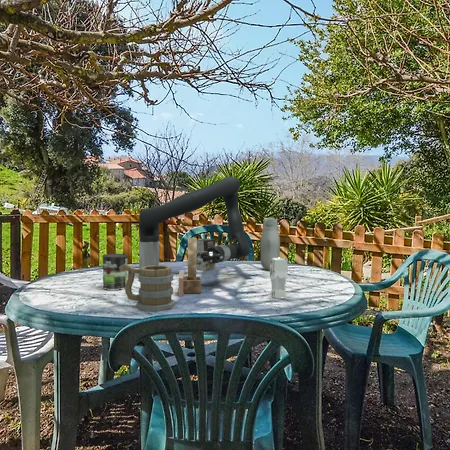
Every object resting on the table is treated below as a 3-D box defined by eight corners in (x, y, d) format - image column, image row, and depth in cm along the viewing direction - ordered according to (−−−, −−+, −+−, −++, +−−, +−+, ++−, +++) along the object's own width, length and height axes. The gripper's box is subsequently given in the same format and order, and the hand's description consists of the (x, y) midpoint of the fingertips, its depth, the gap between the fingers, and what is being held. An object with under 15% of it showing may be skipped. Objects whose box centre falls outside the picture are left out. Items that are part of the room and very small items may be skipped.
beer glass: (275, 299, 160) (276, 260, 159) (265, 295, 167) (266, 258, 165) (290, 297, 164) (291, 259, 162) (280, 293, 170) (281, 257, 169)
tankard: (178, 303, 155) (178, 262, 154) (166, 312, 143) (166, 268, 142) (128, 299, 159) (128, 260, 158) (112, 308, 147) (111, 266, 146)
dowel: (187, 292, 172) (187, 238, 170) (187, 289, 176) (187, 237, 174) (196, 292, 173) (196, 238, 171) (196, 289, 176) (196, 237, 174)
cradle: (183, 293, 169) (183, 280, 169) (183, 288, 178) (183, 276, 178) (200, 292, 170) (200, 280, 170) (200, 288, 179) (200, 276, 179)
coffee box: (205, 270, 221) (205, 240, 220) (195, 269, 225) (195, 239, 224) (215, 268, 228) (215, 239, 227) (206, 267, 232) (206, 238, 231)
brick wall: (178, 295, 166) (178, 278, 165) (179, 287, 182) (179, 271, 181) (183, 295, 166) (183, 278, 165) (183, 287, 182) (183, 270, 181)
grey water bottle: (259, 268, 229) (260, 216, 227) (278, 268, 229) (279, 217, 227) (260, 271, 220) (261, 217, 218) (280, 271, 219) (281, 218, 217)
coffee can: (118, 291, 173) (118, 257, 172) (97, 289, 176) (97, 256, 175) (132, 286, 182) (132, 254, 181) (112, 284, 186) (112, 253, 185)
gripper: (206, 244, 193) (182, 248, 179) (231, 246, 184) (208, 250, 171) (206, 260, 193) (182, 265, 180) (231, 264, 185) (208, 269, 172)
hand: (195, 258), depth 176 cm, fingers open, 8 cm apart
